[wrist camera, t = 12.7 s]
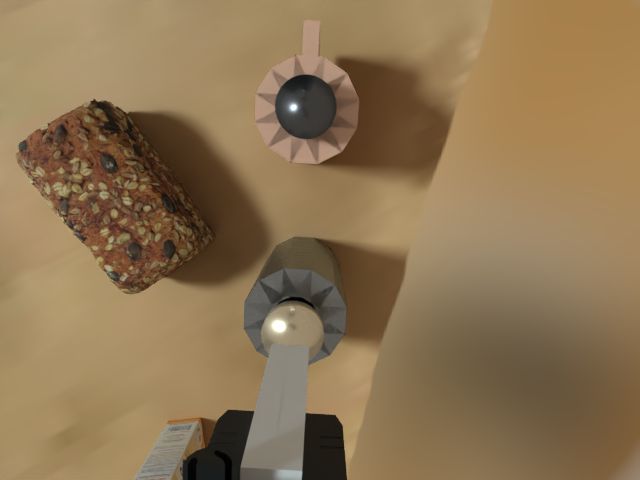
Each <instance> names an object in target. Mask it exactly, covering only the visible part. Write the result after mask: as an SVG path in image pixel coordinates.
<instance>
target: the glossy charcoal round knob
mask: <svg viewBox="0 0 640 480" xmlns="http://www.w3.org/2000/svg"><path fill="white" fill-rule="evenodd" d="M336 110H337V104H336V98H335V95H334V92H333V91H332V89H331V87H330V86H329V85H328V84H327V83H326V82H325V81H324V80H322V79H321V78H319V77H317V76H314V75H308V74H303V75H298V76H295V77H292V78H291V79H289V80H288V81H286V82H285V83H284V84H283V85H282V87H281V88H280V90H279V92H278V94H277V96H276V100H275V112H276V116H277V119H278V121H279V123H280V125H281V126H282V127H283V129H284V130H285V131H286V132H288V133H289V134H290V135H292V136H294V137H296V138H299V139H314V138H317V137H319V136H321V135H323V134H324V133H325V132H326V131H327V130H328V129H329V128H330V127H331V125H332V123H333V121H334V119H335V115H336Z"/></svg>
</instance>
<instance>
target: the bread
mask: <svg viewBox="0 0 640 480" xmlns="http://www.w3.org/2000/svg"><path fill="white" fill-rule="evenodd" d="M15 154H16V158H17V162H18V164H19V166H20V167H21V169H22V170H23V171H24V172H25V173H26V174H27V175H28V177H29V179H30V182H31V184H33V185H34V186H35V187H36V188H37V189H38V190H39V191H40V193H41V195H42V196H43V197H44V199H45V201H46V202H47V204H48V205H50V206H51V209H52V210H53V211H54V212H55V213H56V214H57V216H60V217H61V218H62V220H63V222H64V224H66V225H67V226H68V229H69V231H70V232H71V233H72V234H73V235H75V236H76V237H77V238H78V239H79V240H80V241H81V242H82V243H84V244H85V245H86V246H87V247H88V249H89V250H90V251H91V252H92V253H93V255H94V257H95V261H96V262H97V264H98V265H99V266H100V267H101V268H102V270H103V271H105V272H106V273H107V275H108V276H109V278H110V280H111V281H112V282H113V283H114V284H115V285H116V286H117V287H118V288H119V289H120V290H121V291H123V292H124V293H126V294H135V293H140V292H141V291H143V290H145V289H147V288H148V287H149V286H151V285H152V284H154V283H155V282H157V281H159V280H160V279H162V278H164V277H166V276H168V275H169V274H171V273H172V272H173V271H175V270H176V269H178V268H179V267H180V266H181V265H183V264H184V263H186V262H187V261H189V260H190V259H192V258H193V257H194V256H196V255H197V254H198V253H200V252H201V251H202V250H204V249H205V248H206V247H207V246H208V245H209V244H210V243H211V242H212V241H213V240H214V236H215V234H214V233H213V231H212V229H211V228H210V226H209V225H208V224H207V222H206V221H205V220H204V218H203V217H202V215H201V214H200V213H199V211H198V209H197V208H196V207H195V206H194V205H193V204H192V201H191V199H190V198H189V197H188V195H187V193H186V192H185V191H184V190H183V188H182V187H181V185H180V184H179V183H178V182H177V180H176V179H175V177H174V176H173V175H172V173H171V172H170V170H169V169H168V168H167V167H166V165H165V163H164V162H163V160H162V159H161V158H159V156H158V155H157V152H156V151H155V150H154V148H153V147H152V146H151V144H150V143H149V142H148V140H147V139H146V137H145V136H144V135H143V133H142V132H141V131H140V130H139V129H138V127H137V126H136V125H135V124H134V122H133V121H132V120H131V118H130V117H129V116H128V115H127V114H126V113H125V112H124V111H123V110H121V109H120V108H118V107H114V105H113V104H112V103H111V102H107V101H100V102H97V101H96V100H95V99H94V100H93V101H90V102H87V103H84V104H83V105H82V106H80V107H78V108H76V109H75V110H72V111H71V112H69V113H66V114H64V115H62V116H61V117H59V118H57V119H56V120H54V121H52V122H51V123H49V124H45V125H43V126H42V127H41V128H40V129H37V130H36V131H35V132H34V133H32V134H31V135H30V136H28V138H27V139H26V140H24V141H23V142H20V144H19V152H18V153H15Z"/></svg>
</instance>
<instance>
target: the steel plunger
mask: <svg viewBox="0 0 640 480" xmlns="http://www.w3.org/2000/svg"><path fill="white" fill-rule="evenodd" d="M323 339H324V327H323V322H322V319H321V317H320V315H319V314H318V312H317V311H316V310H315V309H314V308H313V307H311V306H310V305H308V304H306V303H305V299H304V298H303V297H291V301H286V302H283V303H280V304H278V305H276V306H275V307H274V308H272V309H271V310H270V312H269V313H268V314H267V316H266V318H265V320H264V323H263V326H262V330H261V340H262V344H263V346H264V348H265V350H266V352H267V353H268V354H269V352H270V348H271V344H285V345H301V346H309V359H308V361H309V360H311V359H312V358H313V357H314V356H315V355H316V354H317V353H318V352H319V350H320V349H321V346H322V344H323Z"/></svg>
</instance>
